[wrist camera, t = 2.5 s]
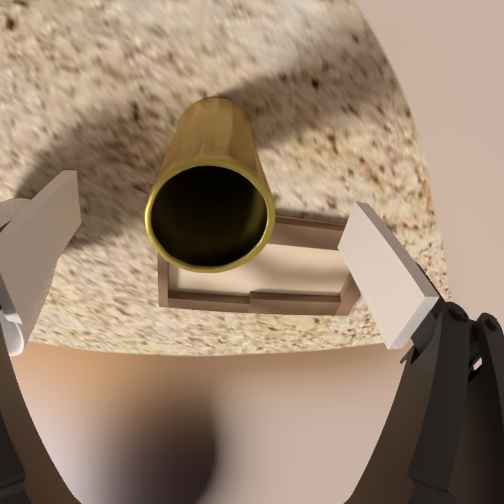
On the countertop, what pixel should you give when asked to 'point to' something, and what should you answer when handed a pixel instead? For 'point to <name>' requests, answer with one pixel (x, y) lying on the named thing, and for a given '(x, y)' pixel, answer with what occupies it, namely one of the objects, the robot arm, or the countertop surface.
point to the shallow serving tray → (272, 276)
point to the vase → (210, 192)
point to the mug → (20, 333)
